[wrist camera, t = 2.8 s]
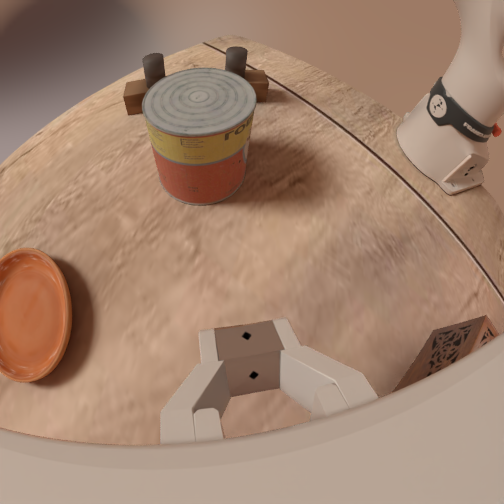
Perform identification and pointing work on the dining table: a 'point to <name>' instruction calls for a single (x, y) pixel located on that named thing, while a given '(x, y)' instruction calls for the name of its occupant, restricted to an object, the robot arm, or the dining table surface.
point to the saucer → (32, 315)
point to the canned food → (200, 132)
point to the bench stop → (157, 72)
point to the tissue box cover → (448, 348)
